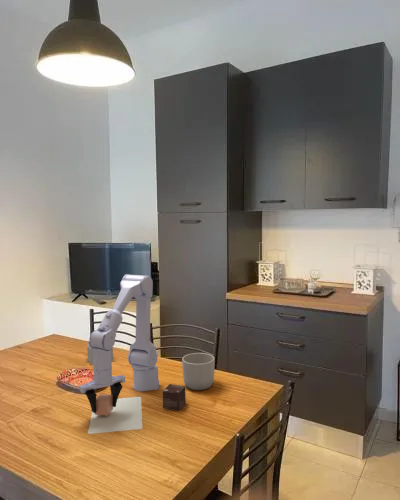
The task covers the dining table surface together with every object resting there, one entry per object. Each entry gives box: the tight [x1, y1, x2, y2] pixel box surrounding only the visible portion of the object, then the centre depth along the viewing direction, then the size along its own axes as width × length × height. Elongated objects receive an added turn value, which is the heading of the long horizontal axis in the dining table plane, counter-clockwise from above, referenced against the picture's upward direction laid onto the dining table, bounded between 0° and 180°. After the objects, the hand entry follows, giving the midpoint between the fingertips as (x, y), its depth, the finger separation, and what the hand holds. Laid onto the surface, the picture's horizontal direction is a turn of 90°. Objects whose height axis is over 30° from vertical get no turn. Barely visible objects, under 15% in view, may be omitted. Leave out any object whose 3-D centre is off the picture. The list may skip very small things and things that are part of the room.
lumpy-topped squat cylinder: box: [86, 343, 114, 366], centre depth 184 cm, size 10×13×9 cm
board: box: [87, 396, 143, 435], centre depth 131 cm, size 16×22×5 cm
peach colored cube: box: [95, 393, 113, 416], centre depth 130 cm, size 4×4×5 cm
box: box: [162, 383, 187, 412], centre depth 135 cm, size 6×6×7 cm
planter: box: [181, 352, 216, 391], centre depth 154 cm, size 12×12×11 cm
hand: (104, 408), depth 130 cm, fingers closed on peach colored cube, 6 cm apart
